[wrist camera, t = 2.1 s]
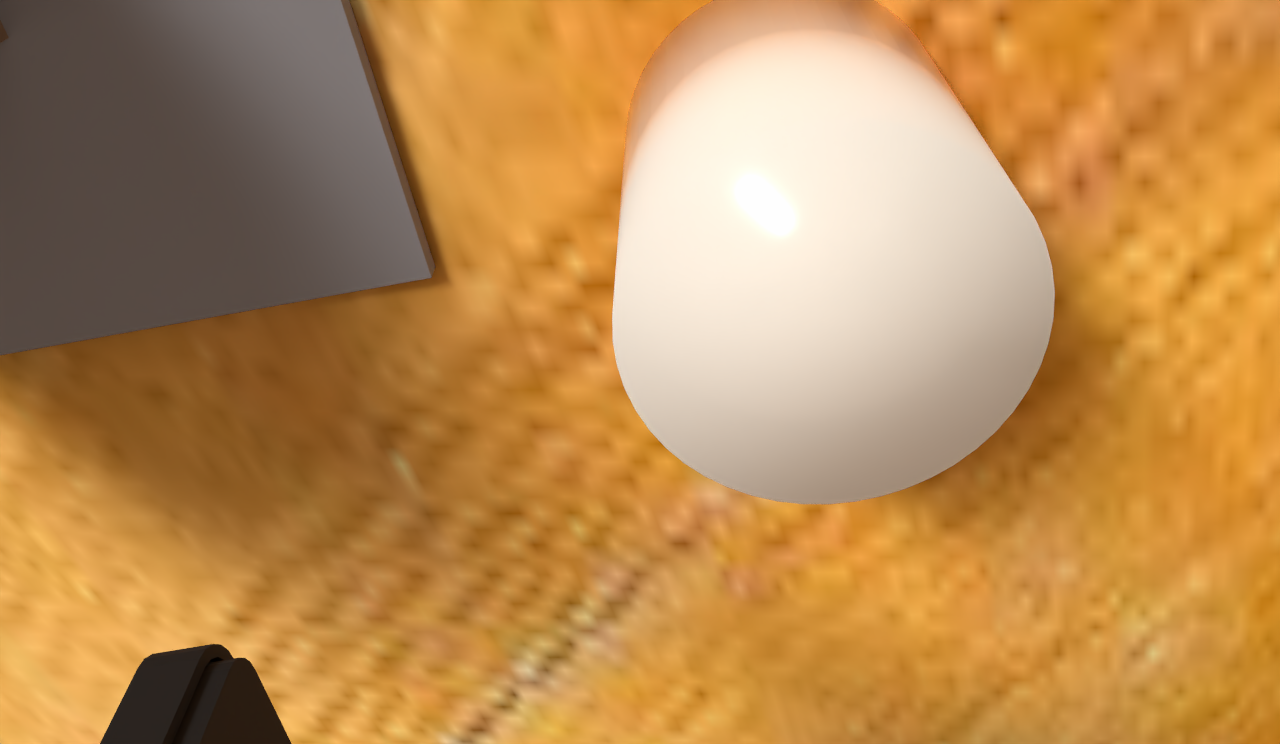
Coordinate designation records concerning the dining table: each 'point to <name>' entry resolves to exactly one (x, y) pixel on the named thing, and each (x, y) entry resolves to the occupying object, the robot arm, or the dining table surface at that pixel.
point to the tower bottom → (2, 33)
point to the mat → (190, 165)
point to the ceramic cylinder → (819, 256)
